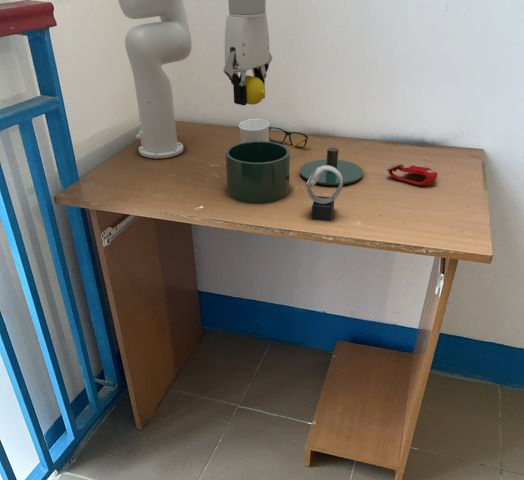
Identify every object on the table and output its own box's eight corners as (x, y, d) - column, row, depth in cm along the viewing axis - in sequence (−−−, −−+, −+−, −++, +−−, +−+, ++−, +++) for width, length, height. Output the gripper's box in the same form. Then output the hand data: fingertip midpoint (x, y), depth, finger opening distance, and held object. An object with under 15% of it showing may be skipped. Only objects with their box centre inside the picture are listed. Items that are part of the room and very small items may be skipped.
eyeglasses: (309, 148, 160) (310, 134, 158) (281, 164, 151) (281, 149, 149) (268, 139, 167) (268, 125, 164) (239, 153, 158) (238, 139, 155)
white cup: (267, 168, 149) (265, 130, 142) (238, 167, 150) (235, 129, 144) (273, 155, 155) (271, 118, 148) (245, 154, 156) (242, 118, 149)
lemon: (226, 103, 126) (225, 76, 122) (242, 97, 129) (242, 71, 126) (257, 109, 122) (256, 81, 118) (272, 103, 125) (272, 76, 121)
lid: (287, 177, 144) (288, 151, 140) (321, 158, 154) (323, 134, 150) (341, 192, 137) (343, 166, 132) (374, 172, 146) (377, 146, 142)
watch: (306, 207, 130) (308, 161, 123) (341, 210, 129) (345, 163, 122) (302, 218, 126) (304, 170, 119) (338, 221, 125) (342, 173, 118)
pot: (215, 192, 137) (212, 154, 131) (253, 173, 146) (252, 136, 140) (263, 208, 130) (263, 168, 124) (300, 187, 139) (302, 149, 133)
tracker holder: (424, 165, 147) (448, 169, 138) (420, 183, 148) (443, 188, 140) (384, 160, 142) (406, 164, 134) (381, 178, 144) (402, 183, 135)
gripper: (258, 0, 121) (260, 90, 132) (204, 10, 110) (211, 107, 122) (287, 2, 117) (285, 95, 128) (233, 13, 107) (237, 113, 118)
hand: (249, 100), depth 125 cm, fingers closed on lemon, 5 cm apart
